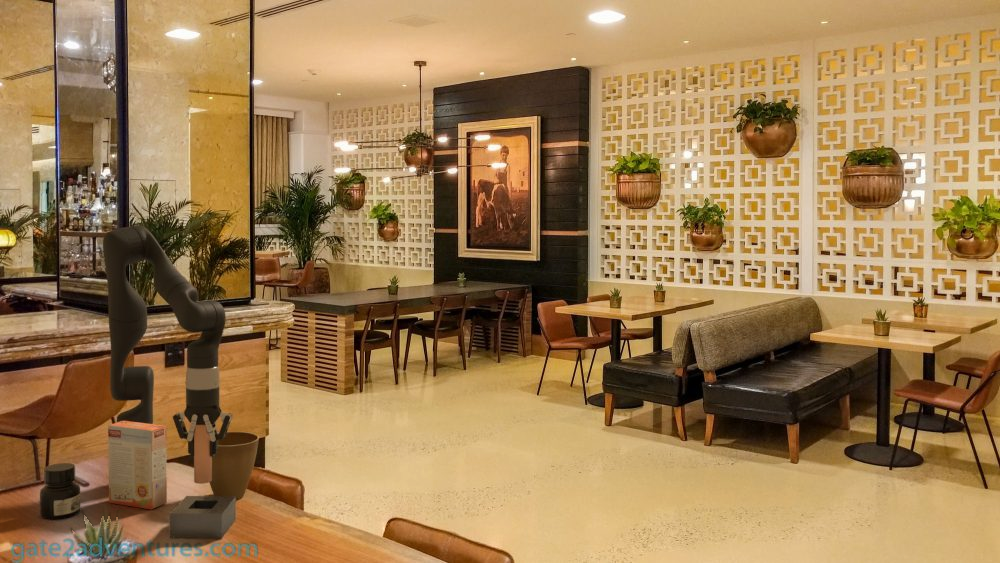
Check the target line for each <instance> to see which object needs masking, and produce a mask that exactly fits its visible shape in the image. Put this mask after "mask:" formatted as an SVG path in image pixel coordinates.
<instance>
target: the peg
mask: <svg viewBox="0 0 1000 563" xmlns="http://www.w3.org/2000/svg"><path fill="white" fill-rule="evenodd" d="M209 428H210V427H209ZM210 441H211V439H210V436H209V433H208V432H207V428H206V425H195V430H194V456H193V482H194V484H208V483H209V482H211V481H212V457H210ZM209 484H210V483H209Z"/></svg>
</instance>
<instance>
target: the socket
mask: <svg viewBox="0 0 1000 563" xmlns="http://www.w3.org/2000/svg"><path fill="white" fill-rule="evenodd" d="M236 504H237V503H236V496H214V495H186V496H184V498H183V499H182V500H181V501H179V503H178V504H177V505H176V506H175V507H174V508H173V509H172V510H171V512H169V539H187V540H189V539H193V540H194V539H197V540H198V539H200V540H201V539H202V540H205V539H207V540H209V539H211V540H212V539H213V540H215V539H216V540H219V539H223V538H224V537H225V535H226V534H227V532H228V531H229V529H231V527H232V526H233V525H234V523H235V521H236V516H237V515H236V514H237V512H236V511H237V510H236V509H237V508H236V506H237V505H236Z"/></svg>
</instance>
